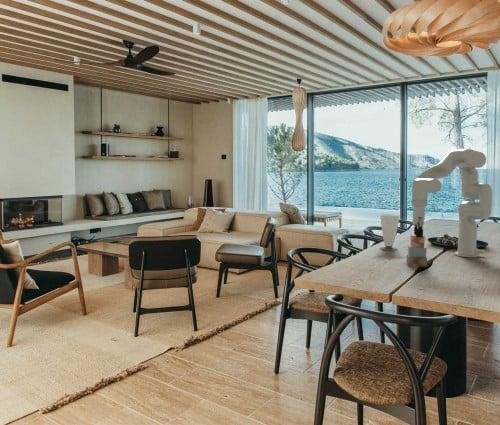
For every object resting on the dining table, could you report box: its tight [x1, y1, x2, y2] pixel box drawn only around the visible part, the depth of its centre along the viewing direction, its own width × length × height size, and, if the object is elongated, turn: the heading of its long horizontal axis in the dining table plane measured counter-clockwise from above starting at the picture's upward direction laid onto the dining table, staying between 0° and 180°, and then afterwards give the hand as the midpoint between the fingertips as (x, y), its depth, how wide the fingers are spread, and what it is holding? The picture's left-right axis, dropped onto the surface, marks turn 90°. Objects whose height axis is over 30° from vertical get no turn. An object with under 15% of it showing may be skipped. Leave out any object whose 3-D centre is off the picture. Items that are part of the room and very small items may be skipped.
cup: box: [379, 213, 400, 252], centre depth 281 cm, size 12×12×22 cm
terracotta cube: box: [409, 233, 426, 248], centre depth 236 cm, size 6×6×6 cm
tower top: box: [407, 244, 427, 258], centre depth 237 cm, size 8×8×5 cm
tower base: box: [406, 253, 428, 268], centre depth 237 cm, size 9×9×5 cm
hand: (418, 235), depth 236 cm, fingers open, 9 cm apart
